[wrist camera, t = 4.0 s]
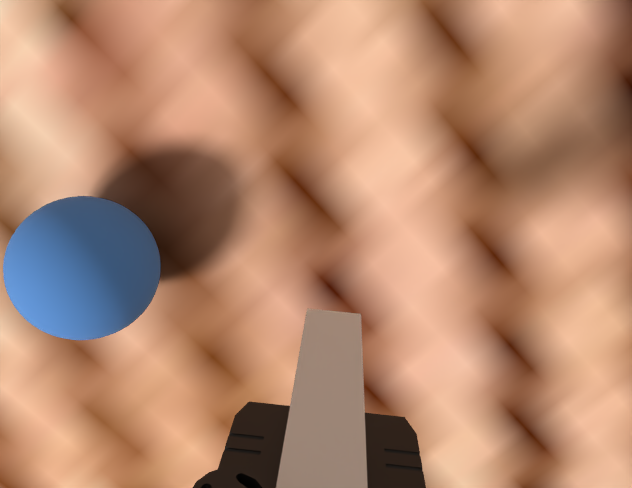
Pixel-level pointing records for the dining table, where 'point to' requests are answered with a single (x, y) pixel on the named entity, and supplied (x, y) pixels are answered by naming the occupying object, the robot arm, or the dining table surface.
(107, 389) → the dining table surface
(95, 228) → the ball
